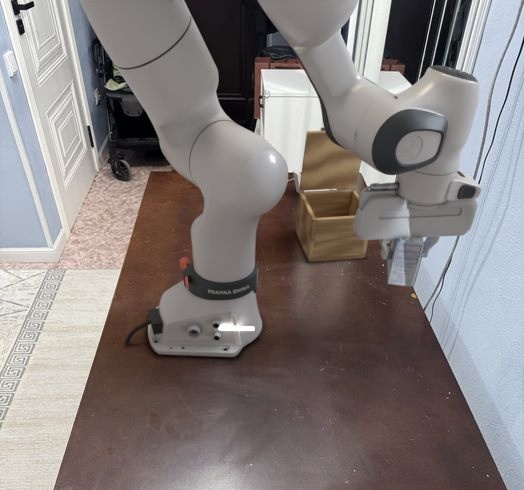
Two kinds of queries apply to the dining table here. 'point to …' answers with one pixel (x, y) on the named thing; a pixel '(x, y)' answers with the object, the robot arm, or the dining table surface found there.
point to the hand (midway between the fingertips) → (403, 256)
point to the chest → (329, 225)
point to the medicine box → (404, 260)
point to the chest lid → (327, 164)
